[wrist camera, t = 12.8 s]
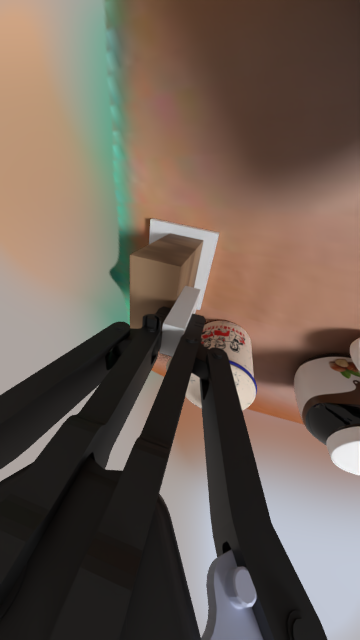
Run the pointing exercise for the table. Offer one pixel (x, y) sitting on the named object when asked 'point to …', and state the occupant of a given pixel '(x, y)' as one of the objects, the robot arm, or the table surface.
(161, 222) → the grey board
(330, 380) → the spread jar
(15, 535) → the robot arm
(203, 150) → the table surface
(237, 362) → the teacup with lid
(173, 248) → the walnut slab
